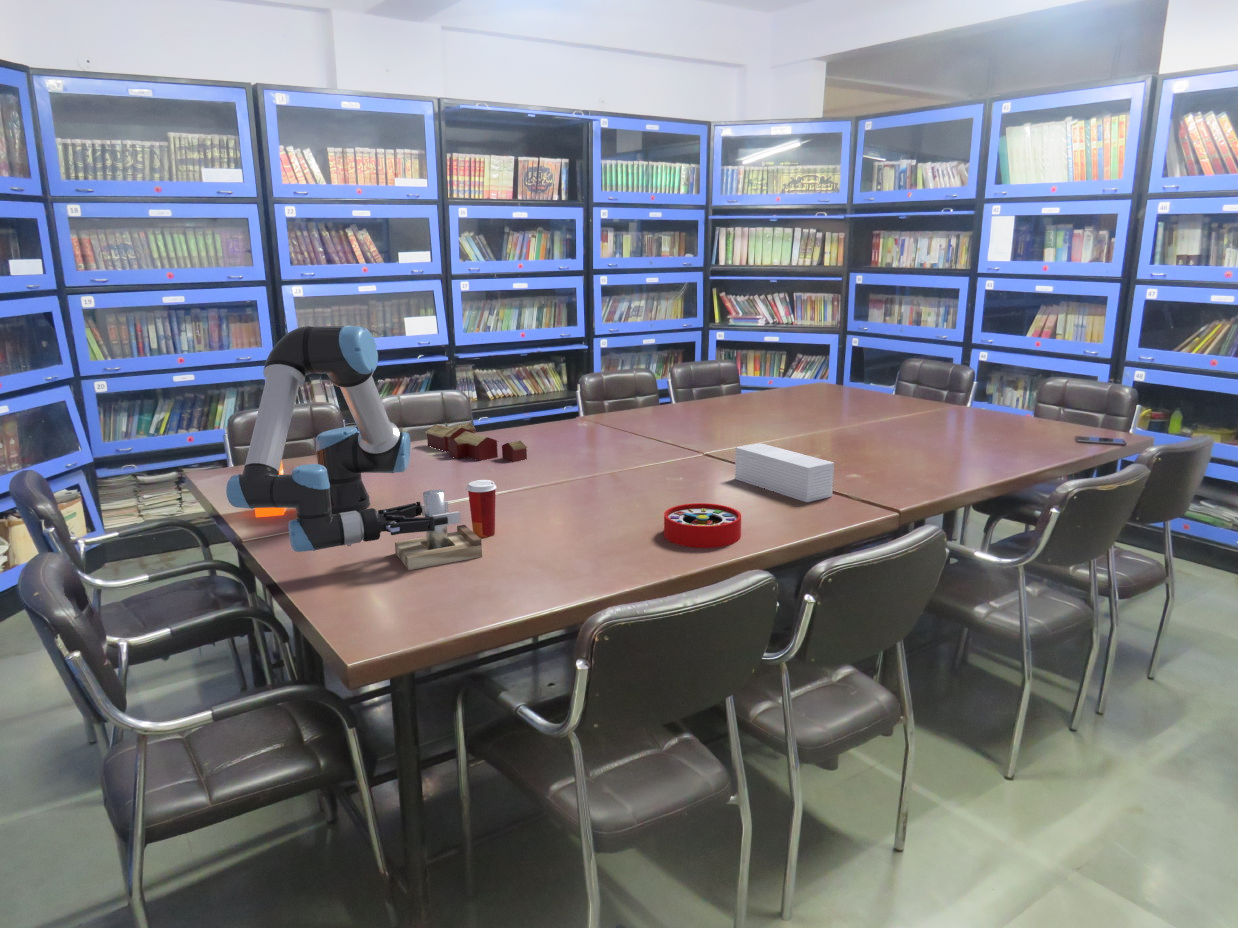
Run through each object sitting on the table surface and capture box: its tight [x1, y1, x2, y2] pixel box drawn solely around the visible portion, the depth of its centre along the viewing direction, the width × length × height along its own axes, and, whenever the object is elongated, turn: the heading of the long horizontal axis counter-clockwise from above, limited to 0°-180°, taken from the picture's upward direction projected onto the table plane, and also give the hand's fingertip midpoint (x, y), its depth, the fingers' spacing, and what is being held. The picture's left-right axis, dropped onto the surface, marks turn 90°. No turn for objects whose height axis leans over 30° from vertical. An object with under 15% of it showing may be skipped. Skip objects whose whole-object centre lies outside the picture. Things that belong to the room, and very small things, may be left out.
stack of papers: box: [734, 442, 835, 503], centre depth 259 cm, size 32×11×11 cm, turn 33°
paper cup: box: [466, 479, 497, 539], centre depth 218 cm, size 8×8×14 cm
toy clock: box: [663, 502, 742, 549], centre depth 217 cm, size 20×6×20 cm
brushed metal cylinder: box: [422, 489, 448, 550], centre depth 203 cm, size 5×5×16 cm
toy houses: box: [425, 422, 529, 463], centre depth 309 cm, size 45×20×10 cm, turn 43°
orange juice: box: [254, 460, 287, 518], centre depth 239 cm, size 8×9×20 cm
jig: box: [394, 524, 483, 571], centre depth 205 cm, size 13×18×4 cm
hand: (453, 511), depth 205 cm, fingers open, 9 cm apart
